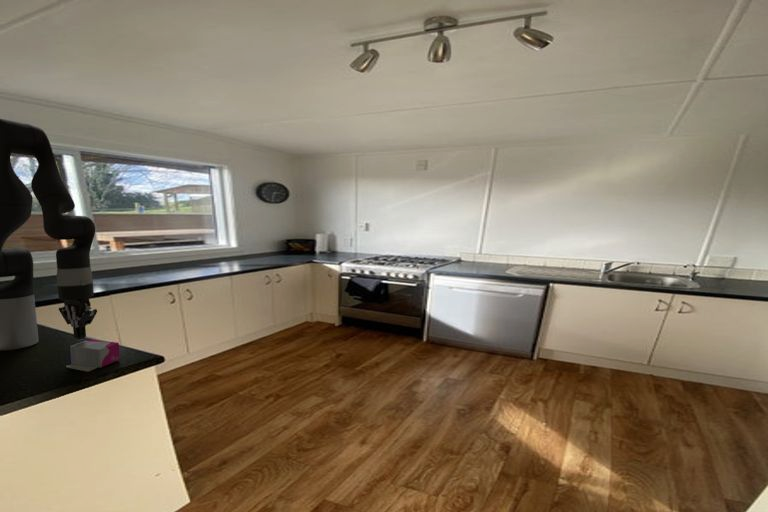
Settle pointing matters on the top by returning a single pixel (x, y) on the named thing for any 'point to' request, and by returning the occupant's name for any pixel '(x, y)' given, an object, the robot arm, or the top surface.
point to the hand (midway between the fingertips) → (80, 338)
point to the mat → (81, 367)
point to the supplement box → (94, 353)
